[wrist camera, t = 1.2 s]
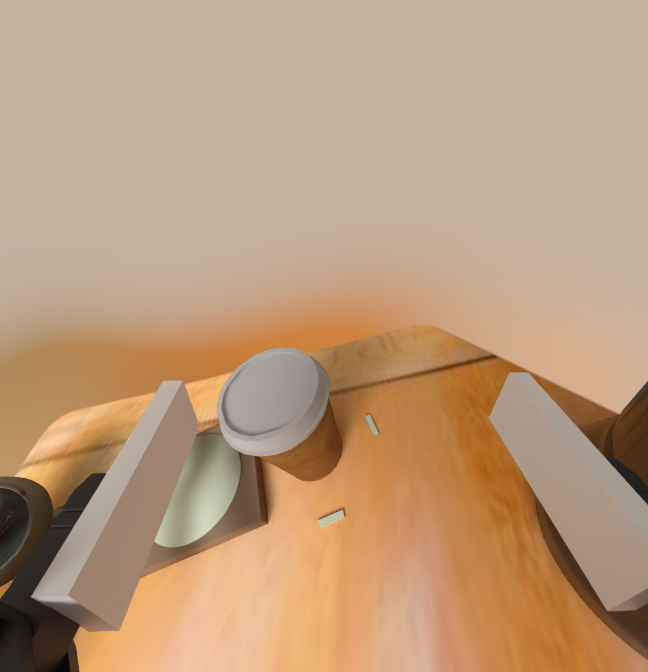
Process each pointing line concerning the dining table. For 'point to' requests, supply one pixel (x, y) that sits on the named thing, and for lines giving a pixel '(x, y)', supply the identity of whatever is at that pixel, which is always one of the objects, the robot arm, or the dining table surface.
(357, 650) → the dining table surface
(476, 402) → the dining table surface
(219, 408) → the disposable coffee cup
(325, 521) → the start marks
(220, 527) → the board
